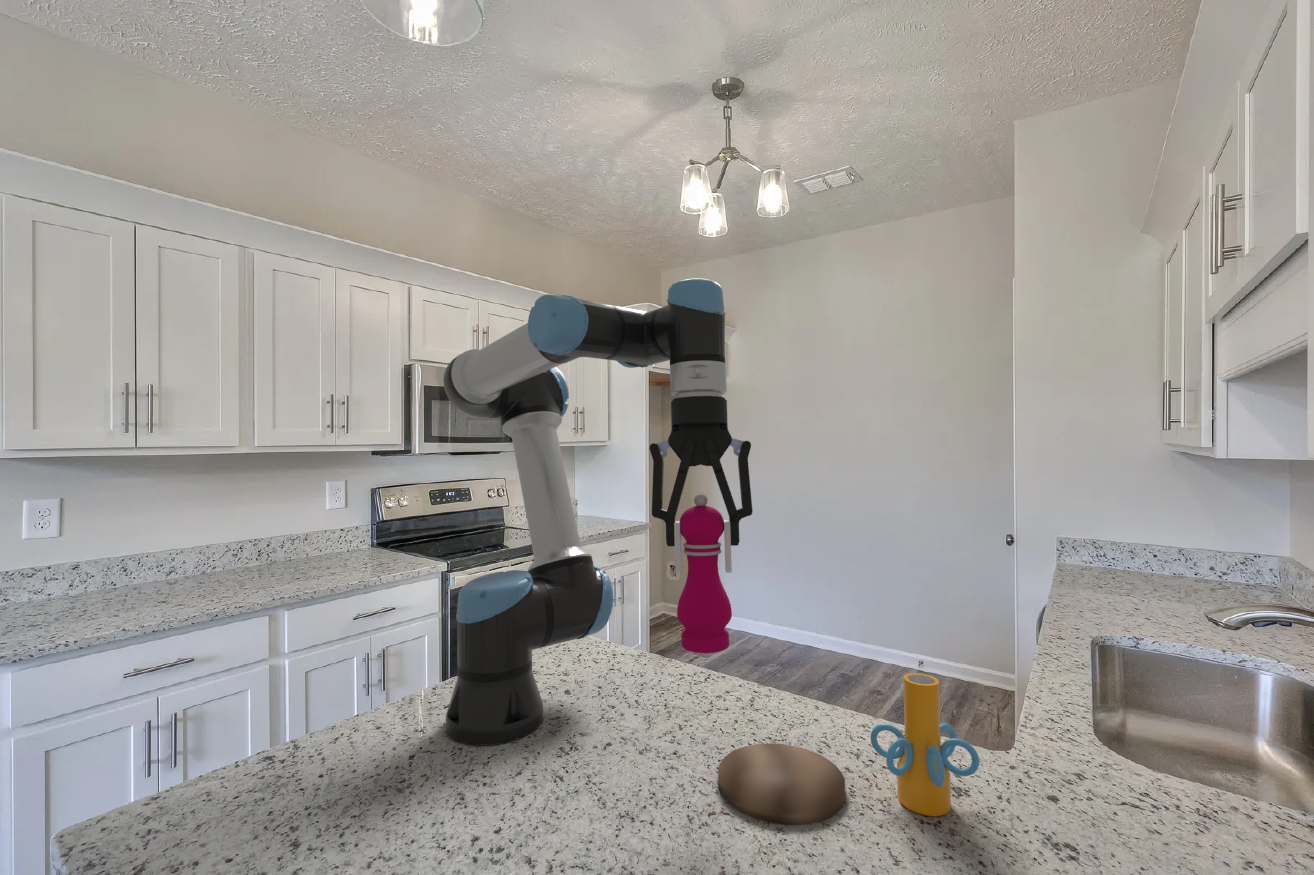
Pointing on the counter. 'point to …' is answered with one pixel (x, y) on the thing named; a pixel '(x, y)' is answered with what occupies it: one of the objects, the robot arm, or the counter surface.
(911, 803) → the cylinder
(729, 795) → the walnut board
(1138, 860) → the counter surface
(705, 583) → the pepper mill
